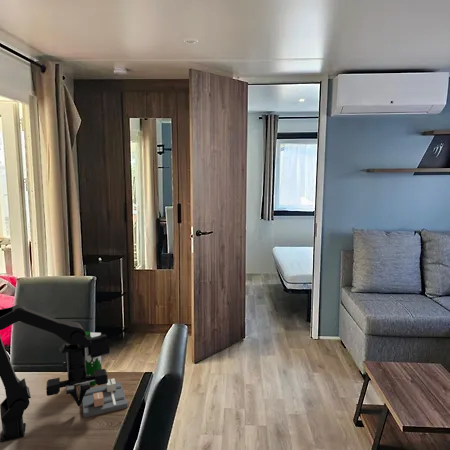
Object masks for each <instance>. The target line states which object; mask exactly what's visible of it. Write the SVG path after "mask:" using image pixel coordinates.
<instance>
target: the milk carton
mask: <svg viewBox="0 0 450 450" xmlns="http://www.w3.org/2000/svg"><path fill="white" fill-rule="evenodd" d="M84 331H85V334H87V335H88V337H89V338H92V337H96V336H100V335H102V332H92V331H89V330H88V331H86V330H84ZM85 358H86V375H89V376H90V375H94V371H95V370H100V369H103V368H102V356H99V357H95V358H91V357H90V356H87V353H86V348H85ZM96 385H97V384H96V381H91V382H90V387H91V386H92V387H93V386H95V387H96ZM76 386H80V384H77V385H76Z"/></svg>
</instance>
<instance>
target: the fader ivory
mask: <svg viewBox="0 0 450 450" xmlns="http://www.w3.org/2000/svg"><path fill="white" fill-rule="evenodd" d="M116 383H117V382H116V380H115V378H108V383H107V384H105V385H106V388H107V392H111V391H115V390H116Z"/></svg>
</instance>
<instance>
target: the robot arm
mask: <svg viewBox="0 0 450 450" xmlns="http://www.w3.org/2000/svg"><path fill="white" fill-rule="evenodd" d="M18 322H20V323H23V324H25V325H29V326H32V327H34V328H37V329H40V330H43V331H46V332H48V333H51V334H54V335H56V336H57V337H58V338H60V339H61V340H62V341H65V342H63V343H62V345H61V346H60V347H59V348H58V349H59V351H60V353H61V354H66V361H64V362H62V372H63V373H67V378H68V379H66V380H65V379H64V380H60V377H55V378H51V379H50V378H49V379H47V381H46V387H45V388H46V396H48V397H50V396H54V395H58V394H59V393H60V392H61V388H65V391H66V395H70V396H71V397H72V398H73V400H74V402H75V404H76V405H77V407H80V406H82V404H83V403H82V400H83V397H84V395H85V393H86V391H87V390H89V389H90V388H91V386H90V382H91V381H96V385H97V386H103V385H106V384H107V383H108V379H109V377H108V372H107V369H106V368H102V369H100V370H95V371H94V375H90V376H89V375H86V358H85V348H86V353H87V356H90V357H91V358H95V357H99V356H101V357H102V356H107V355H109V354H110V346H109V342H108V341H109V340H108V337H107V335H106V333H105V334H101V335H100V336H96V337H92V338H89V337H88V335H87V334H85V331H86V330H84V328H83V327H82V324H80V323H79V322H77V321H74V320H73V321H72V320H63V319H62V320H61V319H56V318H55V317H51V316H48V315H46V314H43V313H41V312H38V311H35V310H32V309H30V308H27V307H25V306H24V305H22V304H16V305H13V306H9V307H6V308H0V331H3V330H5V329H6V328H8V327H10V326H11V325H14V324H16V323H18ZM0 380H1V382H2V385H3V386H4V391H5V398H4V399H3V401H2V402H1V403H0V420H1V428H2V429H1V434H0V443H4V442H8V441H10V440H16V439H20V438H23V437H25V434H26V428H27V427H26V426H27V423H26V422H24V419H23V418H24V416H23V415H24V412H25V411H26V410H27V409H28V407H29V406H30V399H32V396H31V392H30V387H28V386H27V383H26V378H25V377H23V378H22V379H21V380H20V379H19V378H18V377H17V374H16V371H15V370H14V367H13V365H12V363H11V360H10V357H9V355H8V352H7V350H6V348H5V345H4V343H3V341H2V336H1V335H0ZM77 384H80V385H79V394H78V390H77V386H78V385H77Z"/></svg>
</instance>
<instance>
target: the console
mask: <svg viewBox="0 0 450 450" xmlns="http://www.w3.org/2000/svg"><path fill="white" fill-rule="evenodd" d="M99 392H102V393H103V398H104V405H102V406H98V407H94V399H93V394H94V393H99ZM81 404H82V410H83V418H89V417H92V416H97V415H100V414H104V413H105V414H107V413H109V412H110V413H111V412H114V411H117V410H122V409H126V408H128V401H127V397H126V395H125V391H124V387H123V384H122V381H118V382H116V390H115V391H111V392H107V388H106V384H103V385H97V386H95V387H93V386H92V387H90V389H89V390H87V391H86V393H85V395H84V397H83V400H82V403H81Z"/></svg>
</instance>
